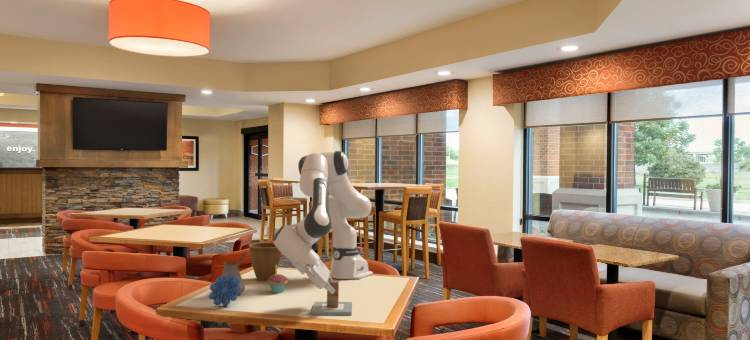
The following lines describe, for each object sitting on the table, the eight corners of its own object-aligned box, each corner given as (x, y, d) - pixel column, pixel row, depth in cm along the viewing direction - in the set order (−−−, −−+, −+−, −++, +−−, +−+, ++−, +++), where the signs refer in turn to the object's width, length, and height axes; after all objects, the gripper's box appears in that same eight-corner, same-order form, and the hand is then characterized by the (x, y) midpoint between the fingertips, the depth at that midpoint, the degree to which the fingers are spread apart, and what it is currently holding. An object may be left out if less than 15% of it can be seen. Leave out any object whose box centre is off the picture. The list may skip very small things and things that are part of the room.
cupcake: (283, 294, 220) (283, 265, 220) (263, 293, 222) (264, 263, 222) (290, 289, 229) (291, 261, 229) (271, 288, 231) (272, 260, 231)
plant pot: (242, 279, 249) (243, 244, 249) (270, 275, 259) (271, 241, 259) (259, 284, 238) (259, 248, 238) (287, 280, 248) (288, 245, 248)
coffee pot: (238, 298, 212) (238, 260, 212) (210, 297, 214) (211, 259, 214) (258, 287, 233) (259, 252, 233) (233, 285, 235) (234, 251, 235)
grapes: (242, 302, 206) (242, 271, 206) (240, 307, 199) (240, 274, 199) (210, 303, 204) (211, 271, 204) (207, 308, 198) (208, 275, 198)
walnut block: (327, 304, 200) (327, 280, 200) (338, 305, 200) (338, 280, 200) (326, 307, 196) (327, 282, 196) (338, 307, 196) (338, 283, 196)
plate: (315, 304, 205) (315, 301, 205) (352, 305, 205) (352, 301, 205) (311, 314, 191) (311, 311, 191) (351, 315, 191) (351, 311, 191)
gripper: (311, 261, 187) (339, 290, 188) (316, 252, 208) (341, 278, 208) (298, 274, 187) (326, 302, 187) (304, 263, 208) (330, 289, 208)
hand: (334, 289), depth 198 cm, fingers open, 7 cm apart
